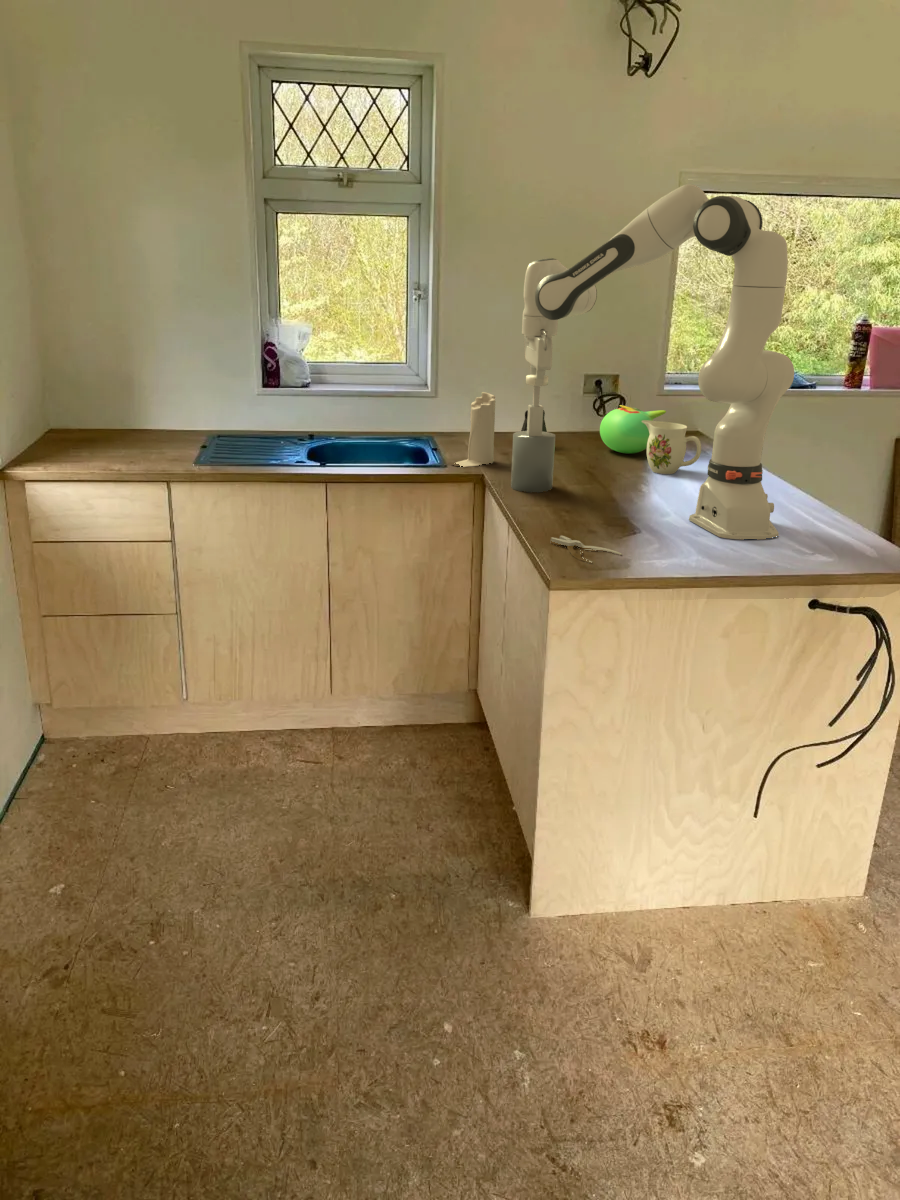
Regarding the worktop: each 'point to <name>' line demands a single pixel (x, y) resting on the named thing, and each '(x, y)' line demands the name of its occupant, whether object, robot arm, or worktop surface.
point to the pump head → (535, 387)
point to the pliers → (579, 545)
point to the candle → (481, 431)
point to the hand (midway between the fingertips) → (536, 383)
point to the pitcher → (668, 446)
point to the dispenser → (533, 455)
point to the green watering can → (627, 429)
